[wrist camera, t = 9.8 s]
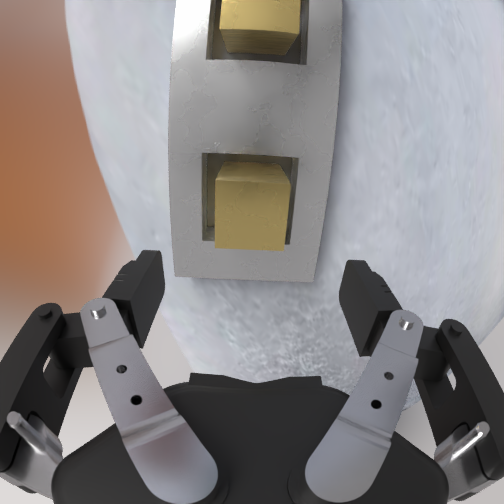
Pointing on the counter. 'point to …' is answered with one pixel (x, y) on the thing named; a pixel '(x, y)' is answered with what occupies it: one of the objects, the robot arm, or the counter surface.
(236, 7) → the seated brass block
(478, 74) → the counter surface
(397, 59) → the counter surface
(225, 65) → the white socket board
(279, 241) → the brass block
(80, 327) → the robot arm
